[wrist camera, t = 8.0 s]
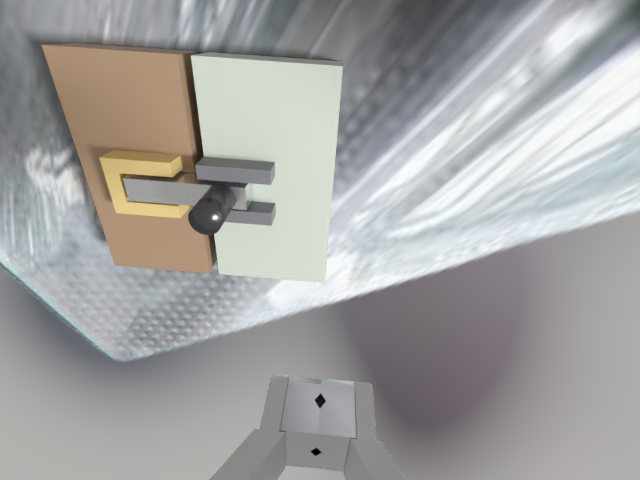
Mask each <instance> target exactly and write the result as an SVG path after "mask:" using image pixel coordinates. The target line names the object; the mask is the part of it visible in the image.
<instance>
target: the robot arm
mask: <svg viewBox="0 0 640 480" xmlns="http://www.w3.org/2000/svg"><path fill="white" fill-rule="evenodd" d="M285 466H297V467H310V468H314V467H315V468H320V469H327V470H335V471H343V472H344V475H345V478H346V480H406V479H405V477H404V476H403V474H402V473H401V471H400V469H399V468H398V466H397V465H396V463H395V462H394V460H393V458H392V457H391V456H390V454H389V452H388V451H387V449H386V448H385V446H384V445H383V443H382V442H380V441H377V440H376V427H375V414H374V400H373V388H372V385H371V383H358V382H353V381H341V380H327V379H312V378H304V377H294V376H287V375H275V374H273V375H272V377H271V380H270V384H269V389H268V393H267V398H266V403H265V407H264V412H263V417H262V421H261V426H260V429H254V431H252V433H251V434H250V435H249V436H248V437H247V438H246V439H245V440H244V442H243V443H242V444H241V445H240V446H239V447H238V448H237V449H236V451H235V452H234V453H233V454H232V455H231V456H230V457H229V458H228V459H227V461H226V462H225V463H224V464H223V465H222V466H221V467H220V468H219V470H218V471H217V472H216V473H215V474H214V475H213V476H212V477H211V479H210V480H277V479H278V478H279V476H280V475H281V473H282V471H283V470H284V469H285Z"/></svg>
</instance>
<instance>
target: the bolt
mask: <svg viewBox="0 0 640 480" xmlns="http://www.w3.org/2000/svg"><path fill="white" fill-rule="evenodd" d="M123 181H124V185H125V189H126V192H127V196H128V200H129V201H139V202H151V203H164V204H176V205H189V206H194V207H193V208H192V209H191V210H190V212H189V214H188V221H189V223H190V225H191V227H192V228H193V229H194V230H195V231H197V232H198V233H200V234H203V235H213V234H215V233H217V232H218V231H219V230H220V228H221V227H222V225H223V223H224V222H225V220H226V218H227V217H228V215H229V214H230V212H231V210H232V209H239V210H247V208H248V207H249V205H250V203H251V201H252V189H251V183H239V182H226V181H213V180H200V179H197V175H196V174H186V173H177V174H176V175H175V176H174V177H162V176H149V175H137V174H128V175H127V176H125V177H124V178H123Z"/></svg>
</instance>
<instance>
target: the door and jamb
mask: <svg viewBox="0 0 640 480" xmlns="http://www.w3.org/2000/svg"><path fill="white" fill-rule="evenodd" d="M41 46H42V48H43V51H44V54H45V57H46V60H47V63H48V66H49V69H50V72H51V75H52V78H53V81H54V84H55V87H56V90H57V93H58V96H59V99H60V102H61V105H62V108H63V111H64V114H65V117H66V120H67V123H68V126H69V129H70V132H71V135H72V138H73V141H74V144H75V147H76V150H77V153H78V156H79V159H80V162H81V165H82V168H83V171H84V174H85V177H86V180H87V183H88V186H89V189H90V192H91V195H92V198H93V201H94V204H95V207H96V210H97V213H98V216H99V219H100V222H101V225H102V228H103V231H104V234H105V237H106V240H107V243H108V246H109V249H110V252H111V255H112V258H113V261H114V264H115V265H118V266H130V267H142V268H154V269H166V270H178V271H190V272H201V273H210V272H211V270H212V268H213V266H214V264H215V263H216V261H218V268H219V274H225V275H237V276H249V277H261V278H273V279H285V280H297V281H309V282H321V283H325V273H326V261H327V249H328V237H329V225H330V213H331V202H332V190H333V178H334V166H335V154H336V143H337V131H338V119H339V107H340V95H341V83H342V72H343V62H342V61H328V60H314V59H300V58H286V57H272V56H258V55H244V54H230V53H216V52H207V53H202V54H198V52H197V51H187V50H173V49H159V48H145V47H131V46H117V45H103V44H89V43H64V44H46V45H41ZM177 173H186V174H196V175H197V179H200V180H213V181H226V182H239V183H251V189H252V201H251V203H250V205H249V207H248V208H247V210H239V209H232V210H231V212H230V214H229V215H228V217H227V218H226V220H225V222H224V223H223V225H222V227H221V228H220V230H219V231H218V232H217V233H215V234H213V235H203V234H200V233H198V232H197V231H195V230H194V229H193V228H192V227H191V225H190V223H189V221H188V214H189V212H190V210H191V209H192V208H193V207H194V206H189V205H176V204H164V203H151V202H139V201H129V200H128V196H127V192H126V189H125V185H124V181H123V178H124V177H125V176H127V175H128V174H137V175H149V176H162V177H174V176H175V175H176V174H177Z"/></svg>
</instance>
